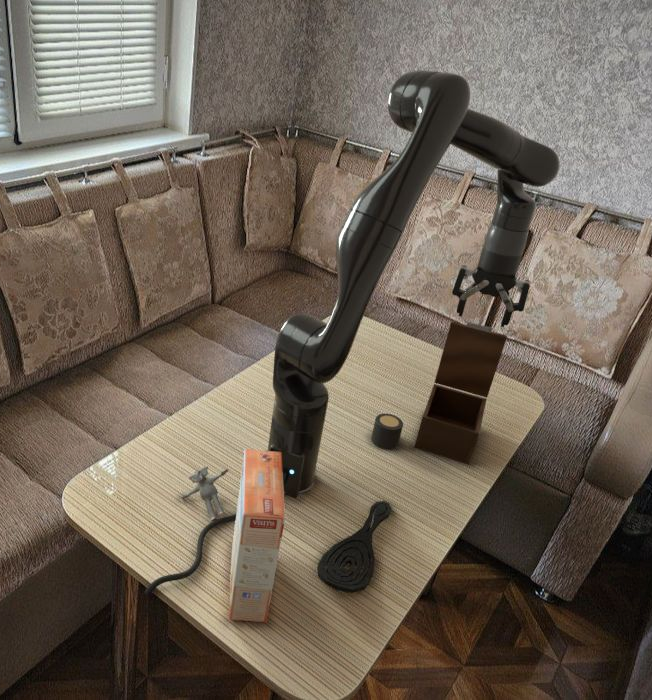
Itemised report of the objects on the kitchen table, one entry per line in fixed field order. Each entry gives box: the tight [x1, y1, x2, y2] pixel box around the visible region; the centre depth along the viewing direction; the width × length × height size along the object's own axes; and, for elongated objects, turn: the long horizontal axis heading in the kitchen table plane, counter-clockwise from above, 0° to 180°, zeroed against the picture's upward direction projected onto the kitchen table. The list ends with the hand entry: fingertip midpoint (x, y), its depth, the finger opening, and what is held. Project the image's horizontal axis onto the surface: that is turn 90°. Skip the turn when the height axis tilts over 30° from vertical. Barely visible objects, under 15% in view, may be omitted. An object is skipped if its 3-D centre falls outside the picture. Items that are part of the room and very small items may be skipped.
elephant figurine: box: [180, 466, 229, 522], centre depth 116 cm, size 10×6×9 cm
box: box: [413, 383, 487, 466], centre depth 139 cm, size 14×11×8 cm
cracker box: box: [228, 448, 286, 623], centre depth 98 cm, size 14×6×21 cm, turn 179°
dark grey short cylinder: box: [370, 413, 404, 450], centre depth 137 cm, size 6×6×5 cm
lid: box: [434, 321, 508, 399], centre depth 141 cm, size 15×11×5 cm
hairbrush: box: [316, 500, 393, 594], centre depth 111 cm, size 8×4×25 cm
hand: (481, 320), depth 140 cm, fingers open, 8 cm apart
